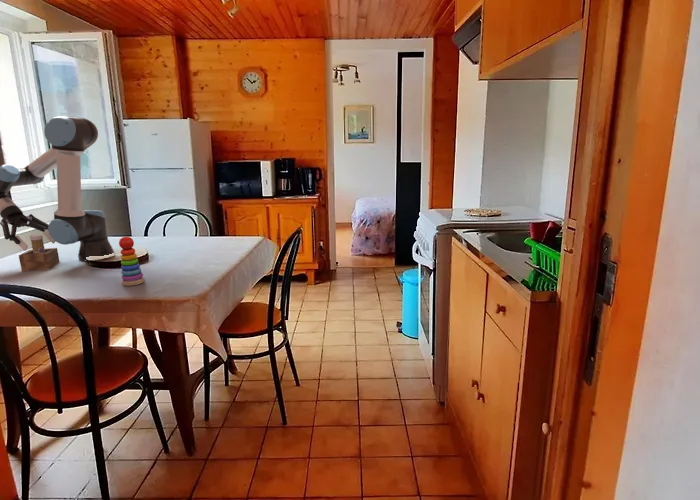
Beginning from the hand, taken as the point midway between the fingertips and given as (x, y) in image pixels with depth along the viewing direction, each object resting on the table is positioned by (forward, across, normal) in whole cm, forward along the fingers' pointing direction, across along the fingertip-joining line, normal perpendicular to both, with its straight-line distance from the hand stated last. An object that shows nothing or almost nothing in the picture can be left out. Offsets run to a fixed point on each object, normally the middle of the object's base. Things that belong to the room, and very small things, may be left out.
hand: (41, 244), depth 194 cm
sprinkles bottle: (+5, 0, -8) cm, 10 cm away
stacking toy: (+48, +11, +33) cm, 59 cm away
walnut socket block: (+6, 0, -9) cm, 10 cm away
